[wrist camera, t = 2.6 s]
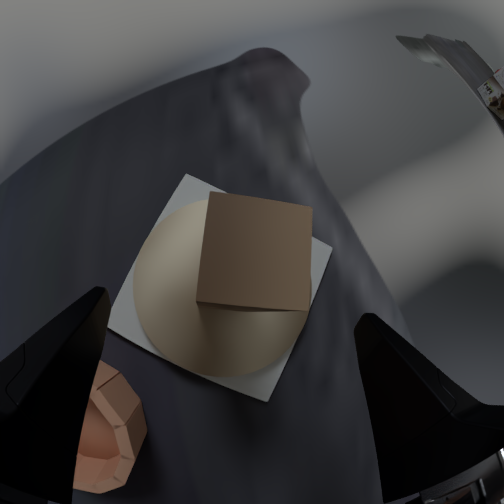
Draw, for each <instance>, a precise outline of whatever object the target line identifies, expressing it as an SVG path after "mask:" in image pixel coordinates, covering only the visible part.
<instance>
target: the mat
mask: <svg viewBox="0 0 504 504" xmlns="http://www.w3.org/2000/svg"><path fill="white" fill-rule="evenodd" d="M210 191H215V192H222V193H226V192H224V191H222V190H220V189H218V188H216V187H213V186H211V185H209V184H207V183H205V182H203V181H201V180H199V179H197V178H195V177H192V176H190V175H188V174H186V175H185V176H184V178H183V180H182V181H181V183H180V184H179V186H178V187H177V189H176V191H175V192H174V194H173V195H172V197H171V199H170V200H169V202H168V204H167V205H166V207H165V209H164V210H163V212H162V214H161V215H160V217H159V219H158V220H157V222H156V224H155V226H154V227H153V229H152V231H153V230H154V228H155V227H156V226H157V225H158V224H159V223H160V222H161V221H162V220H164V219H165V218H166V217H167V216H168V215H170V214H171V213H173V212H175V211H176V210H178V209H180V208H182V207H184V206H186V205H188V204H191V203H194V202H197V201H201V200H207V199H209V193H210ZM152 231H151V232H152ZM149 235H150V234H149ZM331 251H332V247H330V246H328V245H326V244H324V243H323V242H321V241H319V240H317V239H315V238H313V237H312V249H311V281H312V297H311V304H312V301H313V299H314V296H315V294H316V291H317V289H318V286H319V284H320V281H321V278H322V276H323V273H324V270H325V268H326V265H327V262H328V260H329V257H330V254H331ZM138 255H139V254H138ZM137 258H138V256H137ZM137 258H136V260H135V262H134V264H133V266H132V268H131V270H130V272H129V274H128V276H127V278H126V280H125V282H124V284H123V286H122V288H121V290H120V292H119V294H118V296H117V298H116V300H115V303H114V305H113V307H112V309H111V313H110V318H109V322H108V326H107V327H108V328H110V329H112V330H113V331H115V332H117V333H118V334H120V335H122V336H123V337H125V338H127V339H128V340H130V341H132V342H134V343H136V344H137V345H139V346H141V347H143V348H145V349H146V350H148V351H150V352H152V353H154V354H156V355H158V356H160V357H162V358H164V359H166V360H168V361H170V362H172V363H174V364H176V363H175V362H173V361H171V360H170V359H169V358H168V357H166V356H165V355H164V354H163V353H162V352H160V350H159V349H158V348H157V347H156V346H155V345H154V344H153V343H152V341H151V340H150V338H149V337H148V336H147V334H146V333H145V331H144V329H143V327H142V325H141V323H140V320H139V318H138V315H137V312H136V308H135V303H134V298H133V275H134V270H135V265H136V261H137ZM310 306H311V305H310ZM296 340H297V339H296ZM296 340H295V341H294V343H293V344H292V345H291V347H290V348H289V349H288V350H287V351H286V352H285V353H284V354H283V355H282V356H280V357H279V358H278V359H277V360H275V361H274V362H272V363H271V364H269V365H267V366H266V367H264V368H262V369H259V370H257V371H255V372H252V373H248V374H245V375H241V376H233V377H214V376H207V375H202V374H199V373H195V372H193V373H195V374H197V375H199V376H202V377H204V378H206V379H208V380H211V381H213V382H215V383H218V384H220V385H223V386H225V387H228V388H230V389H233V390H235V391H238V392H241V393H243V394H246V395H249V396H251V397H254V398H257V399H260V400H263V401H266V402H268V400H269V398H270V396H271V394H272V392H273V390H274V388H275V385H276V383H277V381H278V379H279V377H280V375H281V373H282V371H283V369H284V366H285V364H286V362H287V360H288V358H289V356H290V353H291V351H292V349H293V347H294V344H295V342H296ZM176 365H178V364H176ZM178 366H179V365H178ZM180 367H181V366H180ZM182 368H183V367H182ZM184 369H185V368H184ZM186 370H188V369H186ZM188 371H190V370H188ZM190 372H192V371H190Z"/></svg>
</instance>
